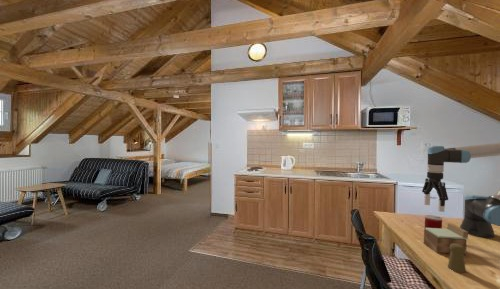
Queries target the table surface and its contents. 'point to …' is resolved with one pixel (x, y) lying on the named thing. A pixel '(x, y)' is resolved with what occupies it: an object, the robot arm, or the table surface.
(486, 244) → the table surface
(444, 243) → the box
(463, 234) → the lid
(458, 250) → the cork
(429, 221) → the canned food
